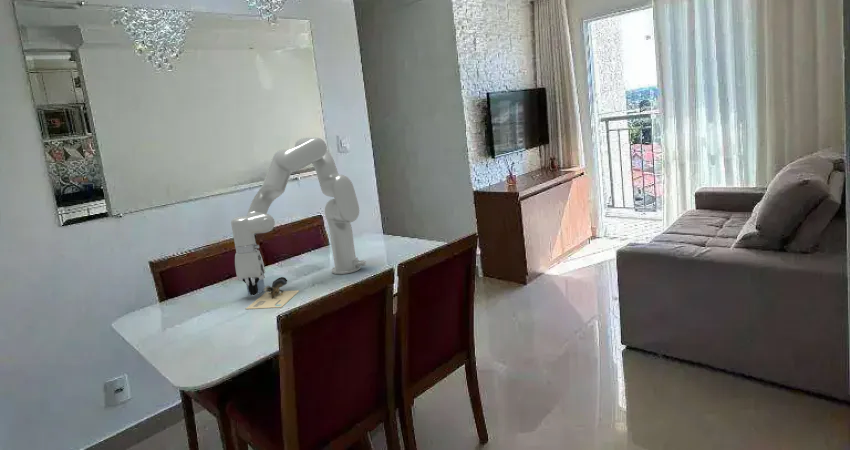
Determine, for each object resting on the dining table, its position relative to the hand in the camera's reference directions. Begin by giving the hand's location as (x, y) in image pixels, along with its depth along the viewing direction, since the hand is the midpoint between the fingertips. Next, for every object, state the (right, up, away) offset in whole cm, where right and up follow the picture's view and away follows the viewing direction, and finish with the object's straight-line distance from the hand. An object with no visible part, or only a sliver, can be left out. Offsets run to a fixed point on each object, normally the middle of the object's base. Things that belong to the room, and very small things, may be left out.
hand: (254, 294), depth 213 cm
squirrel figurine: (+9, -1, -1) cm, 9 cm away
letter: (+9, -2, -5) cm, 10 cm away
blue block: (-1, 0, +8) cm, 8 cm away
